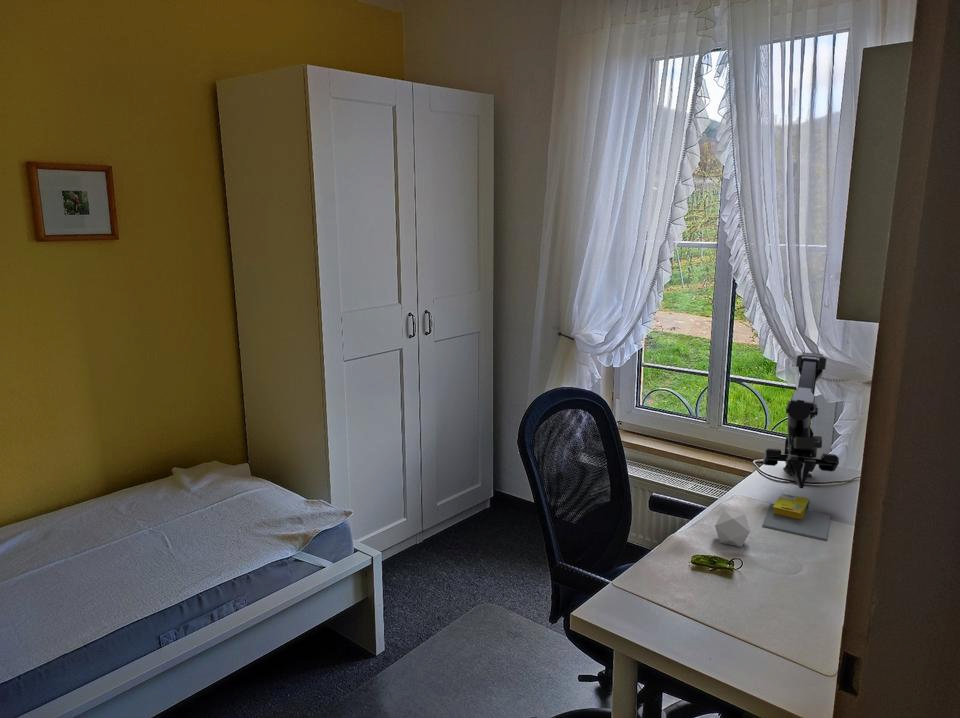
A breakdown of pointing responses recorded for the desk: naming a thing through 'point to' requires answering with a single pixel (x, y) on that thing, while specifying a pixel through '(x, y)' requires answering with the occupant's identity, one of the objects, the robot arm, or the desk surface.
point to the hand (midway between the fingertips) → (801, 487)
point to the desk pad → (799, 524)
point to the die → (732, 528)
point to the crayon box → (791, 506)
